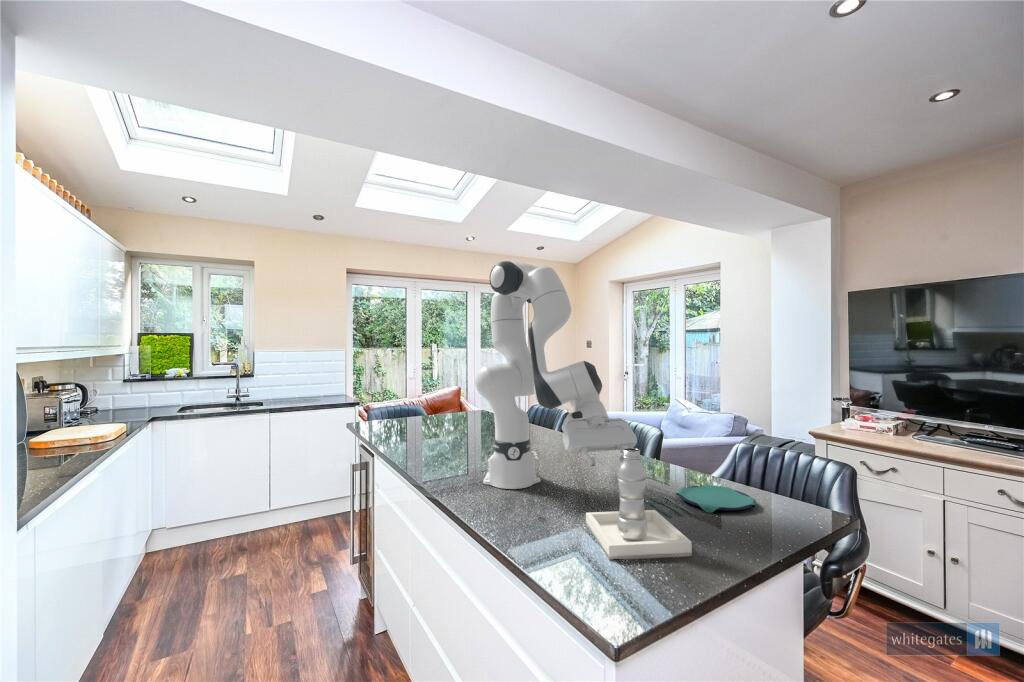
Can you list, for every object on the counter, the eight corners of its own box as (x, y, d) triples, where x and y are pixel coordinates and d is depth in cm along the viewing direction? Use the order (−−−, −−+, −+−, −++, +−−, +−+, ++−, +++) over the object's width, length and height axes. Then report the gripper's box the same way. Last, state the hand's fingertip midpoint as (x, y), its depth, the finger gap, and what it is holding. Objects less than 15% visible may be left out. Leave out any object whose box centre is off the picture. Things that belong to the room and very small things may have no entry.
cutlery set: (772, 512, 115) (771, 503, 116) (671, 523, 109) (671, 514, 110) (722, 489, 135) (721, 482, 135) (634, 497, 129) (633, 490, 129)
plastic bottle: (646, 546, 94) (645, 454, 94) (614, 541, 96) (614, 451, 96) (649, 534, 99) (648, 448, 100) (619, 529, 102) (618, 445, 102)
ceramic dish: (585, 524, 107) (585, 512, 107) (655, 521, 109) (654, 509, 109) (609, 560, 89) (609, 545, 89) (691, 556, 91) (691, 541, 91)
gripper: (621, 424, 126) (640, 467, 116) (556, 428, 120) (569, 472, 111) (629, 411, 121) (649, 454, 112) (562, 414, 116) (576, 460, 106)
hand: (609, 463), depth 111 cm, fingers open, 8 cm apart
